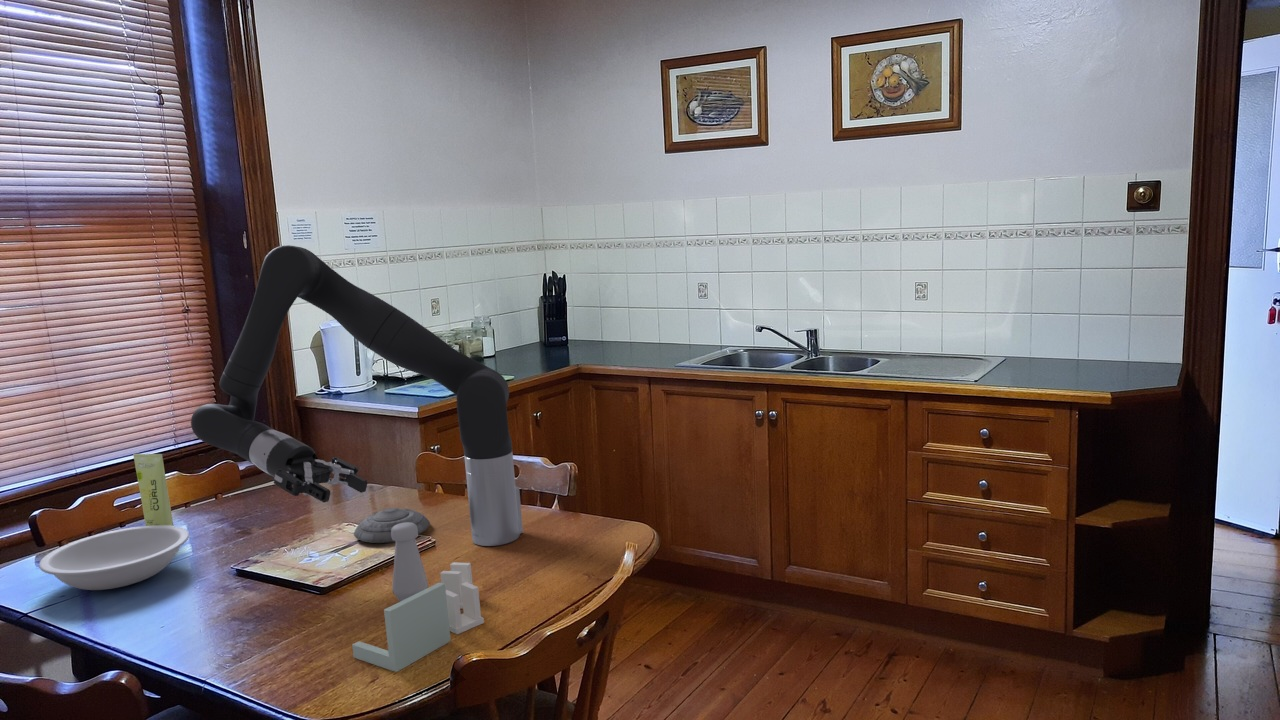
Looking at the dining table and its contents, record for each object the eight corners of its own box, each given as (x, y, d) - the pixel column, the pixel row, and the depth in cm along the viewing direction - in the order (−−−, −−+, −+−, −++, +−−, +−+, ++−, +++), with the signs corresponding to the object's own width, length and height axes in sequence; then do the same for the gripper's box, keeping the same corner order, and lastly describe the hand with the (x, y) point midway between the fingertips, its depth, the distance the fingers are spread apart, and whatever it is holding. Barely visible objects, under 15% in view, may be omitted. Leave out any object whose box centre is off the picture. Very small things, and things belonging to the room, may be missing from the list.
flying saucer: (342, 537, 184) (338, 511, 183) (408, 517, 194) (406, 493, 193) (375, 554, 173) (372, 527, 172) (444, 532, 183) (441, 507, 182)
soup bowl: (134, 551, 182) (129, 520, 181) (222, 562, 173) (217, 530, 172) (13, 600, 161) (7, 565, 160) (107, 616, 151) (101, 579, 150)
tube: (144, 552, 181) (129, 458, 178) (147, 544, 186) (133, 453, 183) (175, 547, 184) (162, 454, 180) (177, 539, 188) (164, 448, 185)
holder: (408, 628, 140) (402, 573, 138) (450, 640, 134) (444, 583, 133) (353, 657, 131) (346, 599, 130) (396, 672, 126) (389, 611, 124)
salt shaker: (419, 607, 147) (411, 531, 145) (387, 606, 148) (379, 530, 146) (434, 592, 153) (427, 518, 151) (403, 591, 154) (395, 518, 152)
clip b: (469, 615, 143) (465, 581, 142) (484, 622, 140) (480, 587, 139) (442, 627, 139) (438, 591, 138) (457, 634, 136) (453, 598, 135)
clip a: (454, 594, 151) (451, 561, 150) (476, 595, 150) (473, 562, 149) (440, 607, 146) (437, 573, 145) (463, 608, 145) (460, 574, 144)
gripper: (252, 443, 154) (319, 479, 148) (317, 431, 167) (381, 465, 160) (245, 483, 156) (310, 521, 149) (309, 469, 169) (372, 503, 162)
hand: (347, 492), depth 155 cm, fingers open, 8 cm apart
